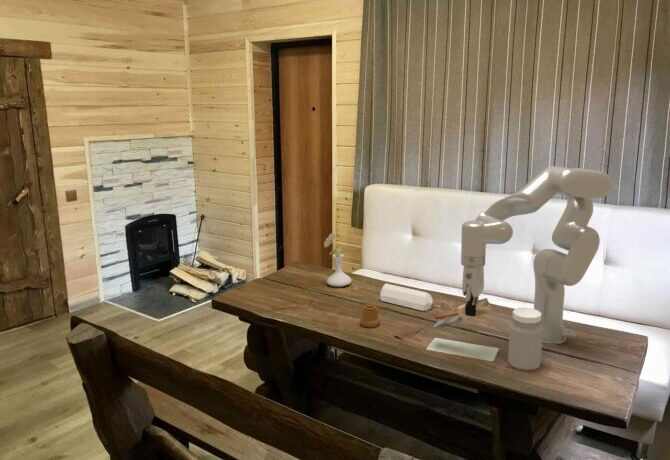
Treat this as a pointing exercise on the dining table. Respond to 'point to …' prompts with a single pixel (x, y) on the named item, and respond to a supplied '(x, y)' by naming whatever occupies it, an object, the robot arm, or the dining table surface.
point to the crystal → (406, 297)
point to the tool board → (463, 349)
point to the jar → (525, 339)
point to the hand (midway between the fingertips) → (471, 313)
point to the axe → (445, 315)
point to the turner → (481, 308)
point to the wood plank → (408, 332)
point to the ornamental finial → (370, 316)
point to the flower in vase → (337, 266)
